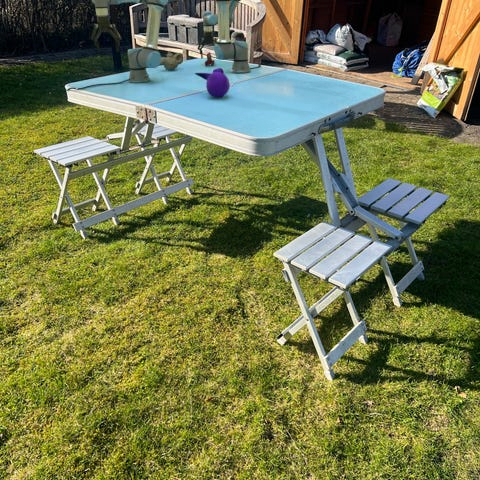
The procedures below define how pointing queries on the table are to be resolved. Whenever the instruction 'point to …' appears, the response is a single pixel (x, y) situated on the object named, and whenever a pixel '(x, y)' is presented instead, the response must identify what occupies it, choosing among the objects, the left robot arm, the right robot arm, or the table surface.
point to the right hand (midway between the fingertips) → (209, 58)
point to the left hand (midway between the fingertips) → (108, 51)
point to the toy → (216, 82)
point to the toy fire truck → (209, 60)
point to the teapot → (171, 61)
